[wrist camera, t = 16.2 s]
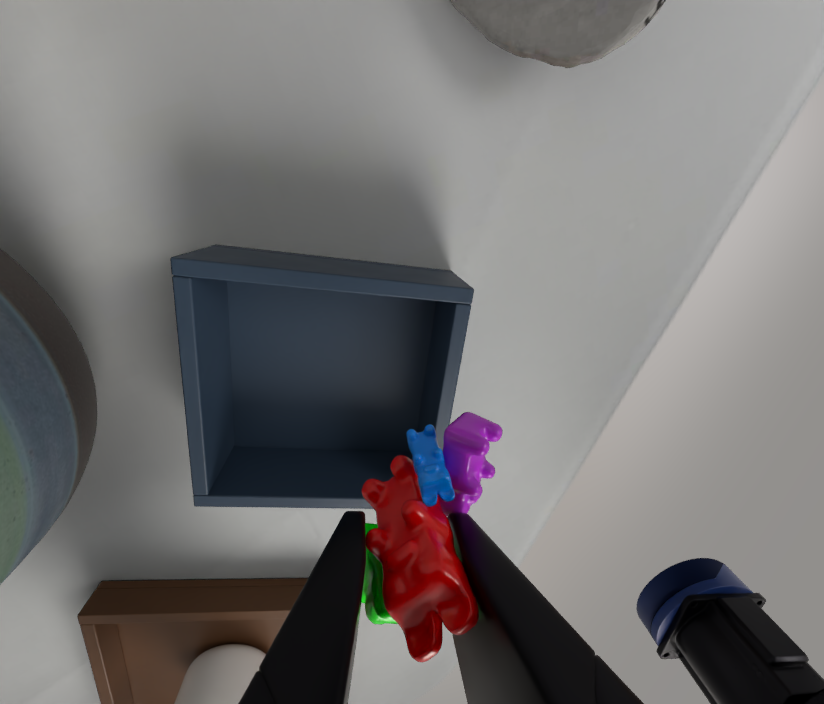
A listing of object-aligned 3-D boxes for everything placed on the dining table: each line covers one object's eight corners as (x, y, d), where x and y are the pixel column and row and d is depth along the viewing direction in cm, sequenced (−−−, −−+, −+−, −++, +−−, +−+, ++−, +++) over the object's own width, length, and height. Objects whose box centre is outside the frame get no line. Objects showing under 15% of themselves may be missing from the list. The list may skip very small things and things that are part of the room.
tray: (329, 715, 29) (327, 750, 27) (134, 728, 27) (117, 767, 25) (340, 577, 24) (338, 608, 22) (101, 580, 22) (76, 615, 20)
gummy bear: (459, 378, 8) (534, 494, 5) (524, 447, 9) (619, 578, 6) (298, 514, 9) (275, 691, 6) (375, 564, 10) (392, 737, 7)
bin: (421, 455, 21) (433, 510, 17) (226, 449, 19) (193, 507, 16) (451, 270, 17) (474, 288, 14) (214, 244, 16) (169, 256, 12)
